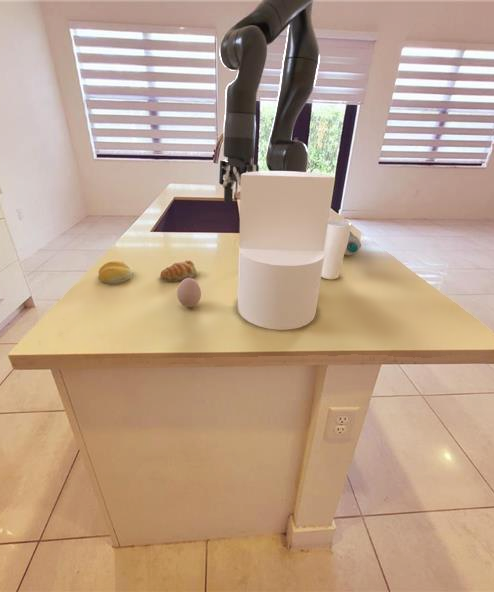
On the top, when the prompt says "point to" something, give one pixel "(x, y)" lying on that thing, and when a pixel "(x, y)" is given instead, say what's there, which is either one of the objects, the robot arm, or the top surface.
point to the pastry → (179, 271)
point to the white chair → (282, 246)
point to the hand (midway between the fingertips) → (236, 205)
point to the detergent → (352, 245)
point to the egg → (189, 292)
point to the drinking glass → (335, 248)
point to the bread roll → (114, 272)
